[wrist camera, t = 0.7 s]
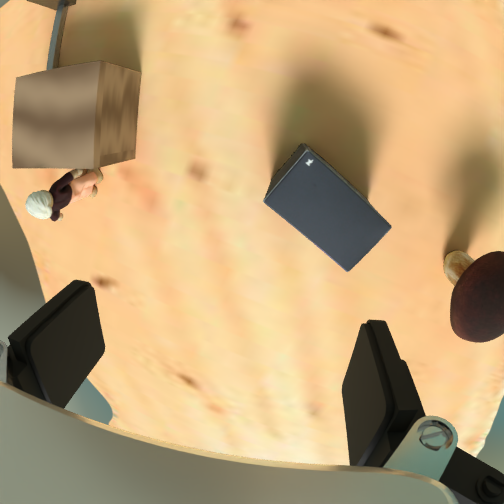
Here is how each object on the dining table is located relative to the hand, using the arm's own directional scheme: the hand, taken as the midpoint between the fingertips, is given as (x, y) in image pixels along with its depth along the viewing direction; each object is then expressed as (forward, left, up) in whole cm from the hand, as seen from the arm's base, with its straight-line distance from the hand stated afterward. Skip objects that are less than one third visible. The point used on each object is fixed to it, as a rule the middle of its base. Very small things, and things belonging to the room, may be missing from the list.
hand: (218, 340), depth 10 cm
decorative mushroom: (+6, +26, -29) cm, 39 cm away
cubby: (-8, -24, -29) cm, 38 cm away
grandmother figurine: (+2, -24, -29) cm, 38 cm away
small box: (0, +6, -30) cm, 30 cm away
